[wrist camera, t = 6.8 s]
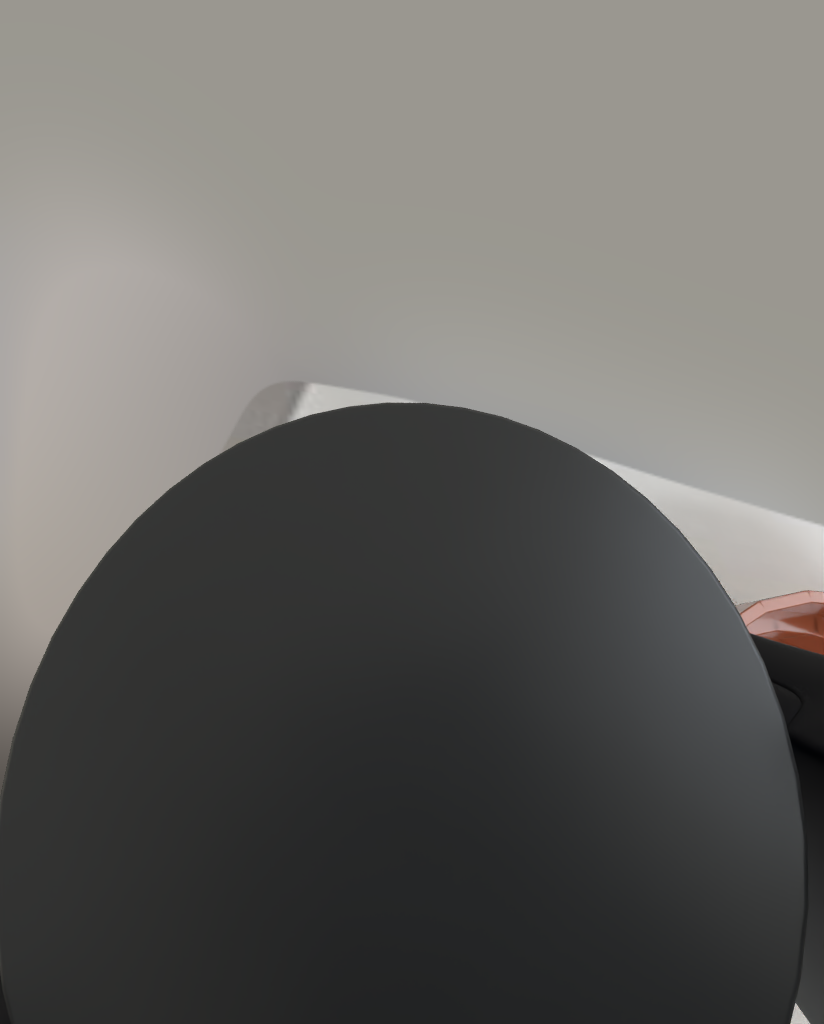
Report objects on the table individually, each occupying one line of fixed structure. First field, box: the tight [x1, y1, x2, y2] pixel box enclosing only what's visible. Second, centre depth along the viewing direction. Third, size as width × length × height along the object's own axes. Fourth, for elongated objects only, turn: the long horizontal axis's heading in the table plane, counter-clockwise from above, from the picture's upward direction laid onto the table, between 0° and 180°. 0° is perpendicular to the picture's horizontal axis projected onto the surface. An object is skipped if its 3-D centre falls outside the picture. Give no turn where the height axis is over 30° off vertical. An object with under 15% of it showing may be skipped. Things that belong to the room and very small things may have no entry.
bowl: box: [735, 590, 824, 655], centre depth 17 cm, size 13×13×5 cm
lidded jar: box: [0, 403, 809, 1024], centre depth 8 cm, size 6×6×11 cm
